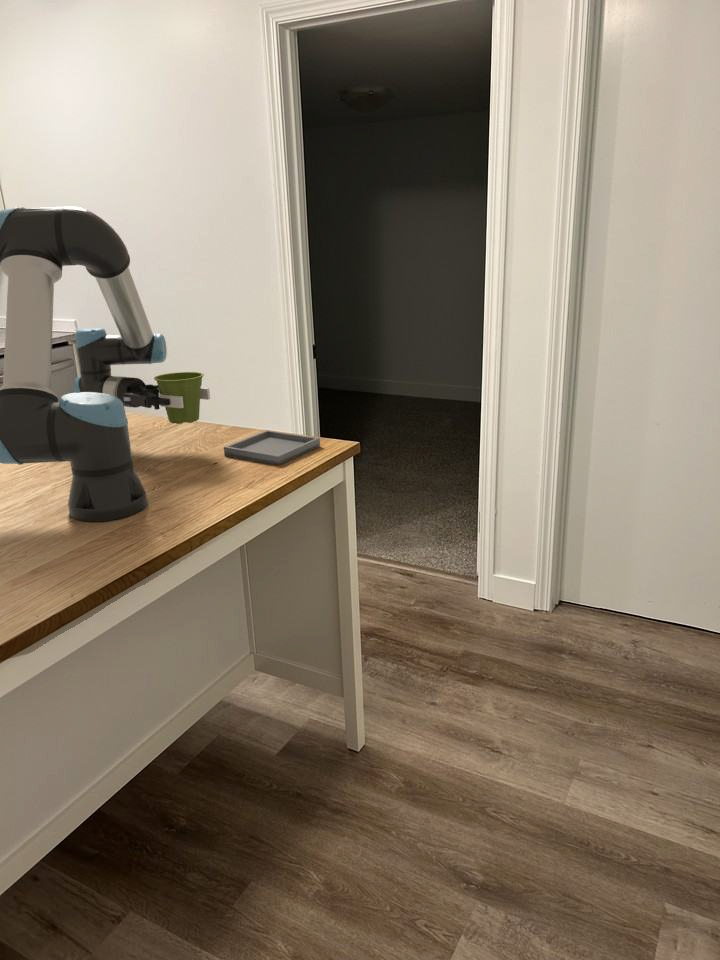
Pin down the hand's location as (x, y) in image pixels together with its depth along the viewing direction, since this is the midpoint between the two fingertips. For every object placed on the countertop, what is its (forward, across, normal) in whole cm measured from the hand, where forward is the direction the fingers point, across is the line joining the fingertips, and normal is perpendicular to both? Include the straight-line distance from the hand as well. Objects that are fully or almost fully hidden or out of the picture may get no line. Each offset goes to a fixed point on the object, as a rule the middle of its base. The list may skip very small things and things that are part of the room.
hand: (195, 398), depth 174 cm
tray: (+15, -10, -14) cm, 23 cm away
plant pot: (-4, 0, -6) cm, 8 cm away
